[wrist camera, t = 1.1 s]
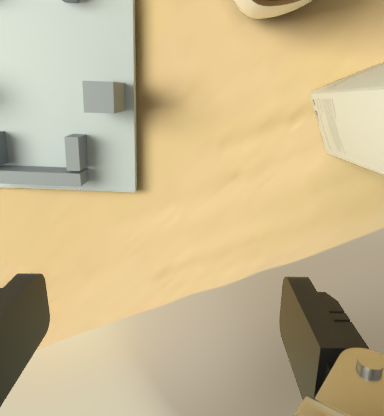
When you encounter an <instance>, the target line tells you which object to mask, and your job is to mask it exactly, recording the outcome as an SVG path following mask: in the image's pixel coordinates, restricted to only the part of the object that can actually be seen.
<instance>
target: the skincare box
mask: <svg viewBox="0 0 384 416" xmlns="http://www.w3.org/2000/svg"><path fill="white" fill-rule="evenodd" d="M310 97H311V101H312V105H313V108H314V112H315V116H316V119H317V123H318V126H319V129H320V133H321V136H322V140H323V143H324V147H325V150H326V153H327V154H330V155H333V156H335V157H337V158H340V159H343V160H345V161H348V162H351V163H353V164H356V165H358V166H361V167H364V168H366V169H369V170H371V171H374V172H377V173H379V174H382V175H384V62H383V63H381V64H378V65H375V66H373V67H370V68H368V69H365V70H363V71H360V72H358V73H355V74H352V75H350V76H347V77H345V78H343V79H340V80H338V81H335V82H333V83H330V84H328V85H326V86H323V87H321V88H319V89H316V90H314V91H312V92H310Z"/></svg>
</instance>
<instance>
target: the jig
mask: <svg viewBox="0 0 384 416" xmlns="http://www.w3.org/2000/svg"><path fill="white" fill-rule="evenodd" d="M0 187H9V188H35V189H61V190H87V191H113V192H136V190H137V132H136V44H135V0H0Z"/></svg>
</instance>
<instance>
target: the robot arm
mask: <svg viewBox="0 0 384 416" xmlns="http://www.w3.org/2000/svg"><path fill="white" fill-rule="evenodd" d="M49 321H50V313H49V306H48V298H47V291H46V284H45V278H44V276H43V275H42V274H17V275H16V276H15V277H14V278H13V279H12V280H11V281H10V282H9V283H8V284H7V285H6V286H5V287H4V288H0V407H1V405H2V403H3V402H4V400H5V399H6V397H7V395H8V394H9V392H10V390H11V389H12V387H13V386H14V384H15V383H16V381H17V379H18V378H19V376H20V375H21V373H22V371H23V370H24V368H25V367H26V365H27V363H28V362H29V360H30V359H31V357H32V355H33V354H34V352H35V351H36V349H37V347H38V346H39V344H40V343H41V341H42V339H43V338H44V336H45V335H46V333H47V330H48V327H49ZM280 332H281V337H282V340H283V343H284V346H285V349H286V352H287V355H288V358H289V361H290V363H291V367H292V370H293V372H294V375H295V378H296V381H297V384H298V387H299V390H300V393H301V396H302V399H303V402H302V403H301V405H300V406H299V408H298V409H297V411H296V413H295V415H294V416H384V355H383V354H381V353H378V352H376V351H373V350H370V349H369V348H368V346H367V345H366V343H365V342H364V340H363V339H362V337H361V336H360V334H359V333H358V331H357V330H356V328H355V327H354V325H353V324H352V322H350V319H349V318H348V316H347V315H346V314H345V313H344V310H343V309H342V307H341V306H340V304H339V303H338V301H337V300H335V299H334V298H333V297H331V296H330V295H328V294H327V293H326V292H317V291H316V289H315V288H314V286H313V284H312V282H311V281H310V279H309V278H308V277H285V278H284V280H283V286H282V298H281V310H280Z"/></svg>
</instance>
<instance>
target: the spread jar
mask: <svg viewBox="0 0 384 416" xmlns="http://www.w3.org/2000/svg"><path fill="white" fill-rule="evenodd" d="M234 1H235V3H236V5H237V7H238V8H239V9H240V11H241V12H242V13H243V14H245V15H246V16H248V17H250V18H256V19H262V18H271V17H276V16H280V15H283V14H286V13H289V12H291V11H294V10H296V9H298V8H300V7H302V6H304V5H306V4H307V3H309V2H311V1H312V0H234Z"/></svg>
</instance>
